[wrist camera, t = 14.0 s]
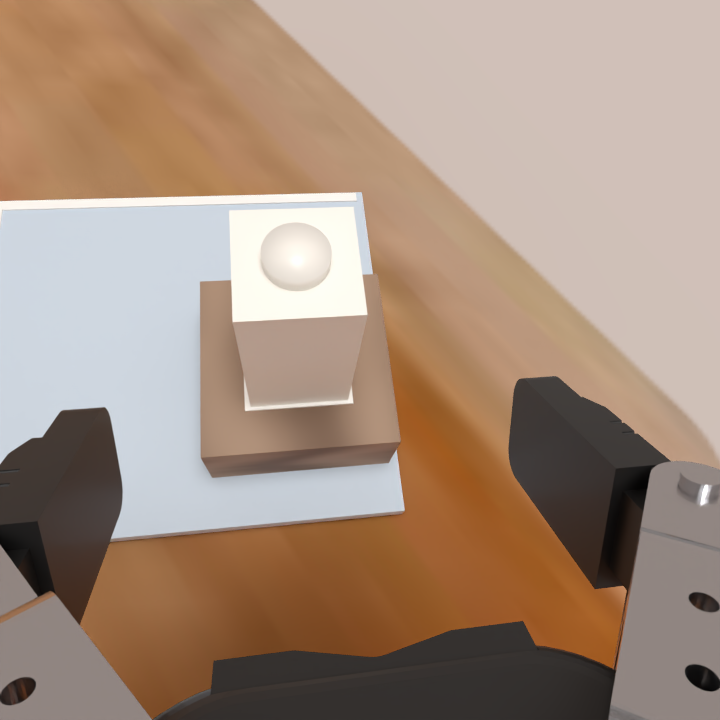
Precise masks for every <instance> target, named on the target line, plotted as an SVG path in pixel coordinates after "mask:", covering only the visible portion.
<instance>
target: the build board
mask: <svg viewBox="0 0 720 720" xmlns="http://www.w3.org/2000/svg"><path fill="white" fill-rule="evenodd" d="M329 207H354V214H355V222H356V230H357V237H358V245H359V253H360V260H361V268H362V276H363V283H364V291H365V299H366V307H367V314H368V315H367V320H366V324H365V328H364V333H363V337H362V342H361V346H360V350H359V355H358V359H357V363H356V368H355V372H354V377H353V381H352V385H351V390H350V394H349V398H348V400H342V401H329V402H315V403H301V404H287V405H273V406H260V407H251V406H250V401H249V397H248V392H247V387H246V383H245V378H244V373H243V369H242V364H241V359H240V355H239V350H238V345H237V341H236V336H235V331H234V327H233V320H232V287H231V255H230V222H229V210H262V209H296V208H329ZM99 407H105V408H106V409H107V410H108V412H109V415H110V418H111V423H112V428H113V434H114V439H115V445H116V450H117V456H118V462H119V467H120V473H121V478H122V488H123V498H122V507H121V512H120V515H119V518H118V521H117V523H116V526H115V529H114V532H113V534H112V537H111V540H110V542H115V541H125V540H136V539H146V538H156V537H167V536H177V535H188V534H198V533H208V532H219V531H229V530H240V529H250V528H261V527H271V526H281V525H292V524H302V523H313V522H323V521H334V520H344V519H354V518H365V517H375V516H386V515H396V514H402V513H403V512H404V511H405V509H404V502H403V494H402V487H401V480H400V472H399V465H398V457H397V450H396V449H397V448H398V446H399V444H400V442H401V439H400V432H399V425H398V418H397V410H396V403H395V396H394V389H393V382H392V374H391V367H390V360H389V353H388V346H387V338H386V331H385V324H384V317H383V309H382V302H381V295H380V288H379V281H378V274H373V272H372V265H371V257H370V250H369V243H368V235H367V228H366V220H365V213H364V205H363V198H362V192H358V193H317V194H276V195H235V196H194V197H153V198H112V199H70V200H29V201H0V464H1V462H2V461H3V460H4V458H5V457H6V456H7V455H8V453H10V452H11V451H13V450H14V449H16V448H17V447H19V446H21V445H22V444H24V443H25V442H27V441H28V440H30V439H31V438H40V437H43V435H44V434H45V433H46V431H47V430H48V428H49V427H50V425H51V424H52V423H53V421H54V420H55V418H56V417H57V415H58V414H59V413H60V412H61V411H62V410H71V409H85V408H99Z"/></svg>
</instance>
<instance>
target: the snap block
mask: <svg viewBox="0 0 720 720" xmlns="http://www.w3.org/2000/svg"><path fill="white" fill-rule="evenodd" d="M229 222H230V255H231V287H232V320H233V327H234V331H235V336H236V341H237V345H238V350H239V355H240V359H241V364H242V369H243V373H244V378H245V383H246V387H247V392H248V397H249V401H250V406H251V407H260V406H273V405H287V404H301V403H315V402H329V401H342V400H348V398H349V394H350V390H351V385H352V381H353V377H354V372H355V368H356V363H357V359H358V355H359V350H360V346H361V342H362V337H363V333H364V328H365V324H366V320H367V315H368V314H367V307H366V299H365V291H364V283H363V276H362V268H361V260H360V253H359V245H358V237H357V230H356V222H355V214H354V207H329V208H296V209H262V210H229Z"/></svg>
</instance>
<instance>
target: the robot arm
mask: <svg viewBox="0 0 720 720" xmlns="http://www.w3.org/2000/svg"><path fill="white" fill-rule="evenodd" d="M621 421H622V420H620V419H619V418H618V417H617V416H616V415H614V414H613V413H612V412H611V411H610V410H608V409H607V408H606V407H604V406H601V405H599V404H597V403H595V402H593V401H590V400H588V399H586V398H584V397H580V396H579V395H578V394H577V393H576V392H575V391H573V390H572V389H571V388H570V387H569V386H568V385H566V384H565V383H564V382H563V381H562V380H561V379H559V378H558V377H556V376H552V377H538V378H523V379H519V380H518V381H517V383H516V385H515V389H514V396H513V406H512V417H511V427H510V438H509V460H510V465H511V469H512V472H513V474H514V476H515V478H516V479H517V480H518V482H519V483H520V485H521V486H522V488H523V489H524V490H525V492H526V493H527V495H528V496H529V497H530V499H531V500H532V502H533V503H534V504H535V506H536V507H537V509H538V510H539V511H540V513H541V514H542V516H543V517H544V518H545V520H546V521H547V523H548V524H549V525H550V527H551V528H552V530H553V531H554V532H555V534H556V535H557V537H558V538H559V539H560V541H561V542H562V544H563V545H564V546H565V548H566V549H567V551H568V552H569V553H570V555H571V556H572V558H573V559H574V560H575V562H576V563H577V565H578V566H579V567H580V569H581V570H582V572H583V573H584V574H585V576H586V577H587V579H588V580H589V581H590V583H591V584H592V586H593V587H594V588H595V589H599V588H608V587H616V586H624V587H625V588H626V590H627V593H626V598H625V603H624V608H623V614H622V619H621V625H620V630H619V636H618V641H617V647H616V652H615V657H614V663H613V668H610V667H608V666H606V665H604V664H602V663H600V662H597V661H595V660H592V659H589V658H587V657H584V656H582V655H578V654H575V653H571V652H568V651H565V650H560V649H555V648H550V647H545V646H536V645H535V643H534V641H533V640H532V638H531V636H530V634H529V632H528V630H527V628H526V626H525V624H524V622H523V621H520V622H513V623H505V624H497V625H489V626H481V627H474V628H466V629H458V630H451V631H448V632H445V633H443V634H440V635H437V636H435V637H432V638H429V639H427V640H424V641H421V642H419V643H416V644H413V645H411V646H408V647H405V648H402V649H400V650H397V651H394V652H392V653H389V654H386V655H383V656H379V657H362V656H351V655H339V654H328V653H316V652H305V651H286V652H279V653H271V654H263V655H255V656H247V657H240V658H232V659H224V660H216V661H214V663H213V674H212V685H211V689H208V690H206V691H203V692H200V693H198V694H196V695H194V696H192V697H190V698H188V699H185V700H183V701H181V702H179V703H178V704H176V705H174V706H173V707H171V708H169V709H168V710H166V711H165V712H163V713H161V714H160V715H158V716H157V717H155V718H154V719H153V720H720V470H719V469H716V468H713V467H710V466H707V465H703V464H699V463H693V462H685V461H672V462H671V461H670V460H669V459H667V458H666V457H665V456H664V455H663V454H661V453H660V452H659V451H658V450H657V449H655V448H654V447H653V446H652V445H651V444H649V443H648V442H647V441H646V440H645V439H643V438H642V437H641V436H640V435H639V434H635V433H634V430H632V429H631V428H630V427H629V426H628V425H626V424H625V423H622V422H621ZM122 498H123V488H122V478H121V473H120V467H119V462H118V456H117V450H116V445H115V439H114V434H113V428H112V423H111V418H110V415H109V412H108V410H107V409H106V408H105V407H99V408H85V409H71V410H62V411H61V412H60V413H59V414H58V415H57V417H56V418H55V420H54V421H53V423H52V424H51V425H50V427H49V428H48V430H47V431H46V433H45V434H44V435H43V437H40V438H31V439H30V440H28V441H27V442H25V443H24V444H22V445H21V446H19V447H17V448H16V449H14V450H13V451H11V452H10V453H8V455H7V456H6V457H5V458H4V460H3V461H2V462H1V464H0V720H152V719H151V718H150V716H149V715H148V714H147V713H146V711H145V710H144V709H143V707H142V706H141V705H140V703H139V702H138V701H137V700H136V698H135V697H134V696H133V694H132V693H131V692H130V690H129V689H128V688H127V687H126V685H125V684H124V683H123V681H122V680H121V679H120V677H119V676H118V675H117V674H116V672H115V671H114V670H113V668H112V667H111V666H110V664H109V663H108V662H107V661H106V659H105V658H104V657H103V655H102V654H101V653H100V651H99V650H98V649H97V647H96V646H95V645H94V644H93V642H92V641H91V640H90V638H89V637H88V636H87V634H86V633H85V632H84V631H83V629H82V628H81V627H80V622H81V620H82V617H83V614H84V611H85V609H86V606H87V603H88V600H89V598H90V595H91V592H92V589H93V587H94V584H95V581H96V578H97V576H98V573H99V570H100V567H101V565H102V562H103V559H104V556H105V554H106V551H107V548H108V545H109V543H110V540H111V537H112V534H113V532H114V529H115V526H116V523H117V521H118V518H119V515H120V512H121V507H122Z"/></svg>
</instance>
